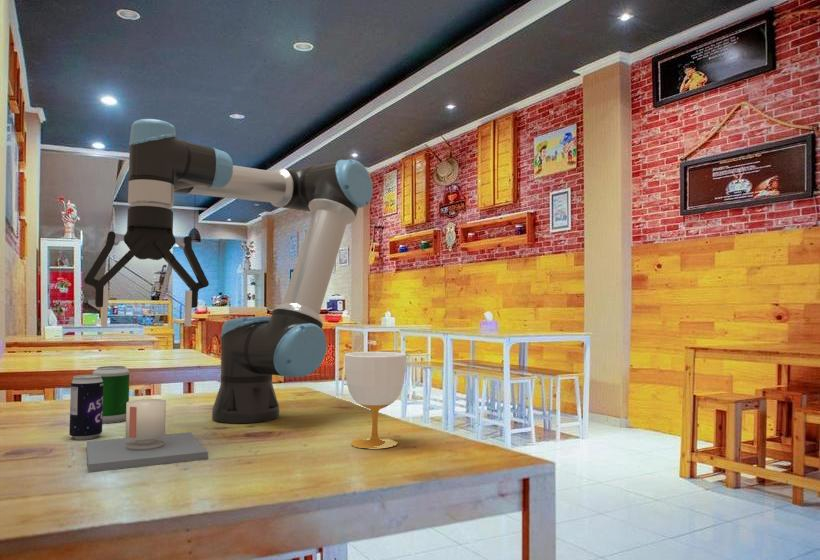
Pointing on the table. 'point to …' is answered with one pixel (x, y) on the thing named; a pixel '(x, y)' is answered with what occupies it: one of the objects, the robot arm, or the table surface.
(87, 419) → the beverage can
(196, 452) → the flat gray rectangular base
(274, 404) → the robot arm
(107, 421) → the soda can
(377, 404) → the cup
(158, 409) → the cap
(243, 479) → the table surface
